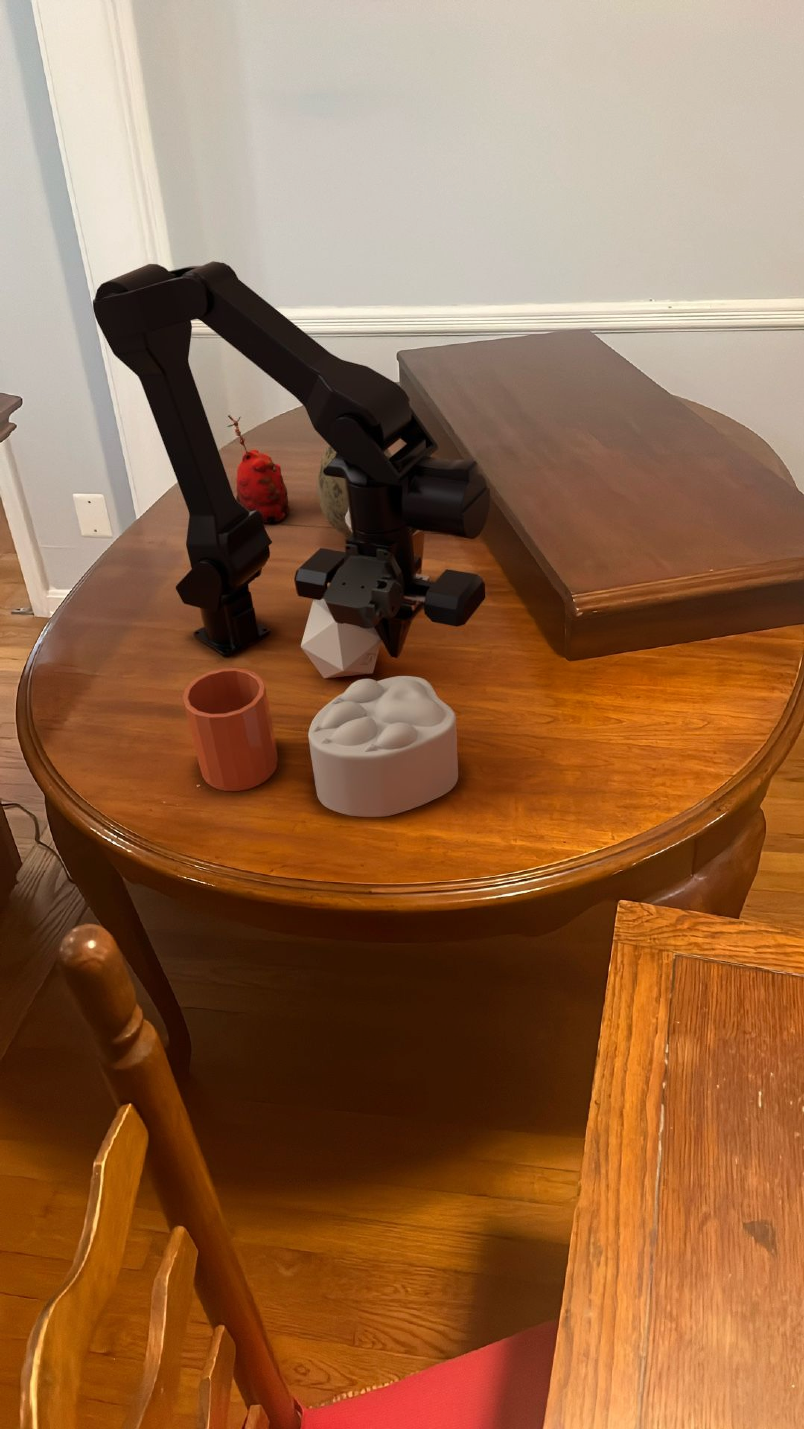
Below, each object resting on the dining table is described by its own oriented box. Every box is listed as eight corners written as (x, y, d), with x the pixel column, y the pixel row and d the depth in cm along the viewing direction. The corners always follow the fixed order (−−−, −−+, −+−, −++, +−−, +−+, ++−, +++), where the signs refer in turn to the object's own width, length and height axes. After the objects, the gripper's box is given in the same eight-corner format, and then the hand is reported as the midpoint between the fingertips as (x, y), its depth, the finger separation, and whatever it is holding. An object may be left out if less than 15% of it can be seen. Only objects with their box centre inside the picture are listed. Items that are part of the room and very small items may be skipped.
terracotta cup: (186, 767, 97) (167, 693, 91) (247, 731, 100) (232, 658, 95) (231, 802, 92) (214, 728, 87) (293, 763, 96) (280, 689, 90)
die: (359, 706, 103) (400, 620, 100) (280, 670, 102) (319, 582, 99) (364, 686, 111) (402, 605, 109) (291, 652, 110) (327, 570, 108)
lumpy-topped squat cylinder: (470, 786, 92) (468, 713, 86) (340, 835, 88) (330, 762, 83) (420, 725, 99) (416, 654, 94) (299, 767, 96) (287, 695, 90)
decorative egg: (307, 543, 130) (292, 434, 121) (355, 509, 137) (345, 403, 128) (373, 563, 125) (363, 450, 116) (420, 527, 132) (414, 417, 123)
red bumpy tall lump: (297, 520, 135) (282, 414, 126) (247, 532, 134) (229, 425, 124) (280, 498, 141) (265, 394, 132) (233, 509, 139) (214, 405, 130)
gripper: (252, 545, 92) (279, 681, 102) (433, 576, 85) (445, 720, 94) (312, 493, 100) (333, 624, 109) (484, 518, 92) (490, 656, 102)
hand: (395, 655), depth 103 cm, fingers closed
